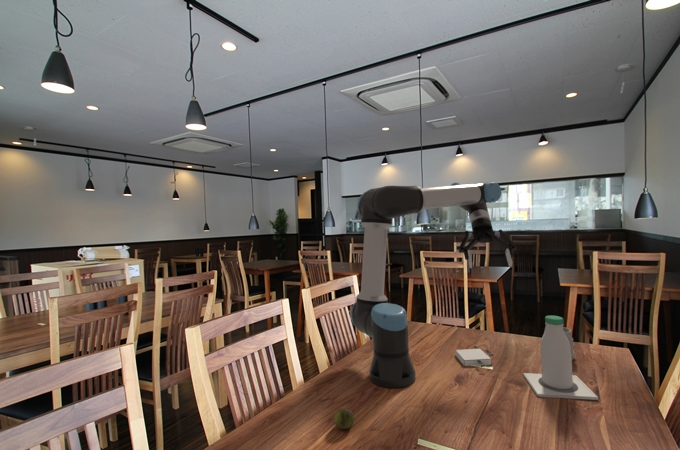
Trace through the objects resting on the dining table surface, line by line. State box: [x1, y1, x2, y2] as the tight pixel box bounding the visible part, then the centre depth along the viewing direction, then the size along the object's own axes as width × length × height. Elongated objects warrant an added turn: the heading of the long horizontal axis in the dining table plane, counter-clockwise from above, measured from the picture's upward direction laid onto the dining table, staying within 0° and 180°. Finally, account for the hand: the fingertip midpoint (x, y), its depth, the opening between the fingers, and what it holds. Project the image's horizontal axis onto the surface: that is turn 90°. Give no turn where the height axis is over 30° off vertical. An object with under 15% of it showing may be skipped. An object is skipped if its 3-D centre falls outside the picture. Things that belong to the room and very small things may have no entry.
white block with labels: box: [454, 345, 494, 368], centre depth 123 cm, size 20×12×3 cm, turn 179°
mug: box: [543, 325, 576, 361], centre depth 123 cm, size 8×12×12 cm, turn 8°
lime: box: [334, 408, 355, 430], centre depth 86 cm, size 4×5×5 cm
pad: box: [523, 372, 599, 401], centre depth 101 cm, size 15×13×1 cm
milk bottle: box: [540, 315, 573, 389], centre depth 101 cm, size 8×8×20 cm
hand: (490, 265), depth 123 cm, fingers open, 13 cm apart
